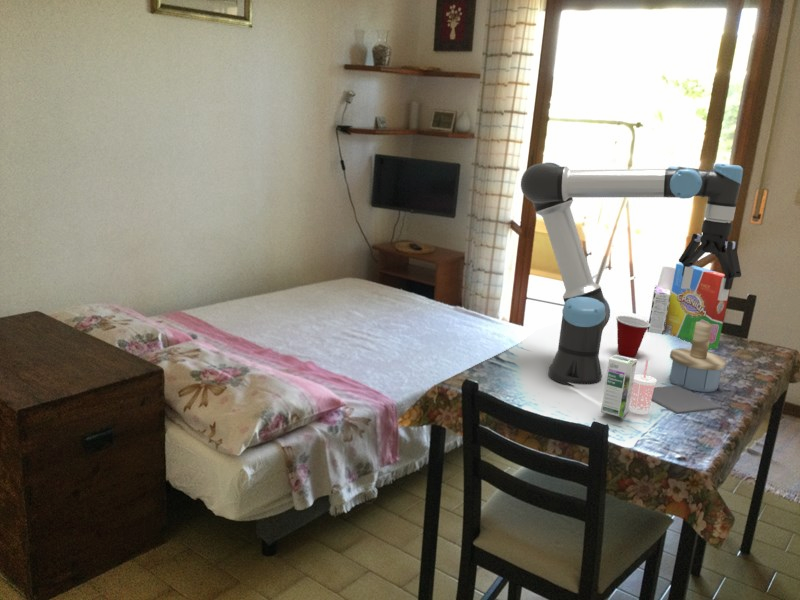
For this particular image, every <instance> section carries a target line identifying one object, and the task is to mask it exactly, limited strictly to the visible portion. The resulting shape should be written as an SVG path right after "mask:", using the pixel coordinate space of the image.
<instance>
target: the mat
mask: <svg viewBox="0 0 800 600" xmlns="http://www.w3.org/2000/svg"><path fill="white" fill-rule="evenodd" d="M651 402H654V403H655V404H658V405H659V406H661V407H663V408H665V409H667V410H669V411H670V412H673V413H675V414H676V415H677V414H678V415H679V414H688V413H695V412H696V413H697V412H702V411H703V412H704V411H712V410H720V409H721V410H722V409H723V406H722V405H720V404H718V403H716V402H714V401H711V400H709V399H707V398H705V397H703V396H702V395H699V394H697V393H695V392H694V391H692V390H688V389H685V388H682V387H680V386H678V385H666V386H657V387H654V391H653V395H652V399H651Z"/></svg>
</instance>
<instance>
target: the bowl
mask: <svg viewBox="0 0 800 600" xmlns="http://www.w3.org/2000/svg"><path fill="white" fill-rule="evenodd" d="M722 370H723V369H721V370H703V369H697V368H692V367H688V366H685V365H682V364H679V363H677V362H675V361H673V360H672V363H671V368H670V374H669V382H670V383H672V385H673V386H675V385H678V386H680V387H682V388H685V389H687V390H689V391H691V392H698V393H712V392H715V391H717V390H718V388H719V384H720V379H721V376H722V375H721V373H722Z"/></svg>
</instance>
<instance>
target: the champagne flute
mask: <svg viewBox="0 0 800 600" xmlns="http://www.w3.org/2000/svg"><path fill="white" fill-rule="evenodd" d="M675 269H676V267H673V266H672V267H670V266H662V268H661V271H660V275H659V280H658V284H657V287H658V288H662V289H667V290H671V291H672V285H673V280H674V274H675ZM670 294H671V292H670ZM670 296H671V295H670ZM669 302H670V301H669Z"/></svg>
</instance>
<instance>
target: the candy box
mask: <svg viewBox="0 0 800 600" xmlns="http://www.w3.org/2000/svg"><path fill="white" fill-rule="evenodd" d="M657 286H658V284H657V285H654V289H653V294H652V295H653V296H652V300H651V308H650V313H649V321H648V323H649V324H650V327H648V329H647V330H646V332H647V333H652V334H659V335H664V333H665V332H664V329H665V324H666V318H667V313H668V307H669V301H670V295H671V294H670V292H671V290H667V289H662V288H658V287H657Z"/></svg>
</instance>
